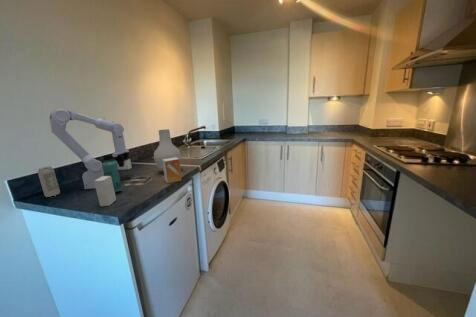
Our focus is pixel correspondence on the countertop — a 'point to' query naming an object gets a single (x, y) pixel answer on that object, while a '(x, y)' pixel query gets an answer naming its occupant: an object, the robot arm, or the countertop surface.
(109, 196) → the skincare box
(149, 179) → the channel board
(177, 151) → the vase
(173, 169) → the small box
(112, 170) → the beverage bottle
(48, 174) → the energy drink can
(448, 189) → the countertop surface
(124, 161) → the lock block
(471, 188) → the countertop surface
